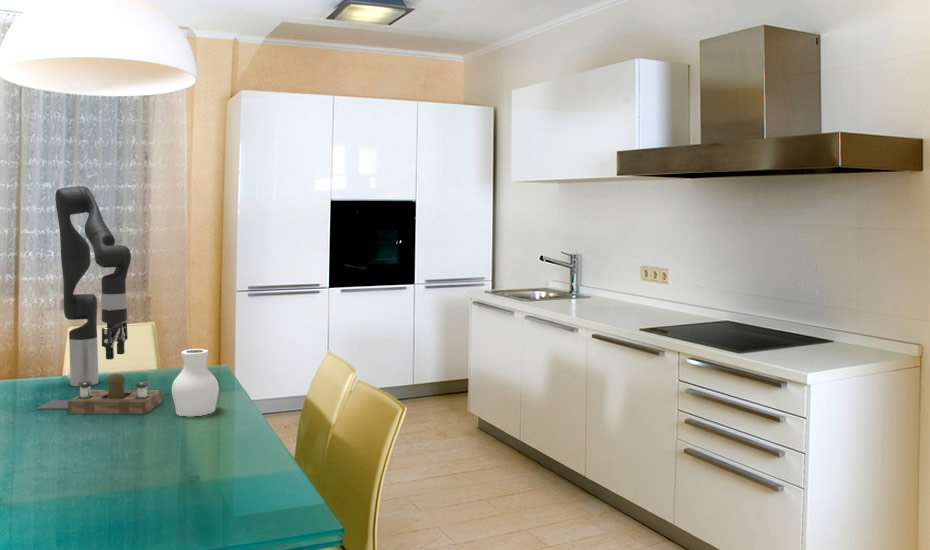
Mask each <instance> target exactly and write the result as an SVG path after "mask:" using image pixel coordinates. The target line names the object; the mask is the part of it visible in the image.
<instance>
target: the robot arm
mask: <svg viewBox="0 0 930 550" xmlns="http://www.w3.org/2000/svg"><path fill="white" fill-rule="evenodd" d="M54 198H55V207H56V215H57V221H58V227H59V238H60V239H59V240H60V244H59V245H60V260H61V270H62V279H63V314H64V317H65V319H67V320H71V321H74V320H75V321H77V320H78V321H79V320H87V321H86V322H85V323H84V324H82V325H81V326H78V327H76V328H72V329H71V330H69V332H68V342H69V343H68V346H69V349H68V350H69V377H70V379H69V382H70V386H72V387H80V386H79V384H78V383H79V382H83V381H91V382H92V385H91V386H95V385H97V384H99V356H98V355H99V354H98V351H99V350H98V326H97V325H98V324H97V322H98V319H97V318H98V299H97V297H96V295H95V294H93V293H92V294H91V293H83V294H82V293H79V294H74V293H75V289H76V287H77V286H78V284H79V282H80V280H81V279H82V278H83V277H84V276H85V274H86V273H87V272H88V269H89V268H90V265H91V264H92V263H91V248H90V245H89V243H90V244H91V246H92V250H93V255H94V261H95V263H96V265H98V266H99V267H101V268H104V269H106V268H107V269H108V268H115V270H114V271H113V272H112V273H110V274H105V275H104V276H103V277H102V278H101V299H100V300H101V301H100V304H101V307H100V308H101V322H102V323H104V324H105V323H106V327H102V328H101V347H103V348H105V359H106V360H113V359H114V358H115V356H114V355H115V354H114V353H115V351H114V346H115V343H116V354H117V355H124V354H125V343H126V340H128V322H127V321H128V297H127V289H126V288H127V286H126V281H127V276H128V272H129V271H128V270H129V267H130V264H131V260H132V253H131V250H130V249H129V248H128V247H127V246H126V245H122V244H121V245H120V244H116V240H115V236H114V235H113V234H112V232H111V230H110V229H109V228H108V226H107V224H106V223H105V220H104V218H103V216H102V213H101V211H100V208H99V206H98V204H97V201H96V198H95V197H94V195H93V193H92V191H91V190H90V188H88V186H85V185H78V186H70V187H69V186H68V187H62V188H58V189H56V192H55V195H54ZM86 213H87V214H88V217H87V219H86V220H85V221H86V222H85V225H84V233H85V236H86V238H87V239H88V241H89V243H88V242H87V240H86V239H85V237H83V236H82V235H81V234H80V233H79V231H78V230H77V229H76V227H74V225H73V224H72V220H71V215H79V214H86Z"/></svg>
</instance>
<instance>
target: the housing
mask: <svg viewBox="0 0 930 550" xmlns="http://www.w3.org/2000/svg"><path fill="white" fill-rule="evenodd" d="M90 391H91V398H89V399H80V394H79V395H77V396H76V397H73V398H72V399H68V400H69V401H68V410H67V413H68V415H69V414H74V415H75V414H76V415H78V414H79V415H80V414H81V415H86V414H87V415H90V414H92V415H95V414H96V415H97V414H98V415H146V414H147V413H149V412H150V411H152V410H153V409H154V408H156V407H157V406H159V405H160V404H162V403H163V390H160V389H159V390H158V389H157V390H156V389H154V390H151V389H147V399H137V389H129V390H128V389H124V393H125V398H124V399H108V392H109V389H90Z"/></svg>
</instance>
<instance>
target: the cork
mask: <svg viewBox="0 0 930 550" xmlns="http://www.w3.org/2000/svg"><path fill="white" fill-rule="evenodd" d="M125 380H126V378H125V375H123V374H120V373H114V374H110V375H109V376H108V377H107V381H106V383H107V384H108V390H109V392H108V399H124V398H125V393H124V390H125V389H124V384H125Z"/></svg>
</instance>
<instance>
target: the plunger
mask: <svg viewBox="0 0 930 550" xmlns="http://www.w3.org/2000/svg"><path fill="white" fill-rule="evenodd" d="M78 384H79V386H78V387H79V395H80V399H89V398H91V391H90V390H91V386H93V385H92V382H91V381H83V382H79V383H78Z"/></svg>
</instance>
